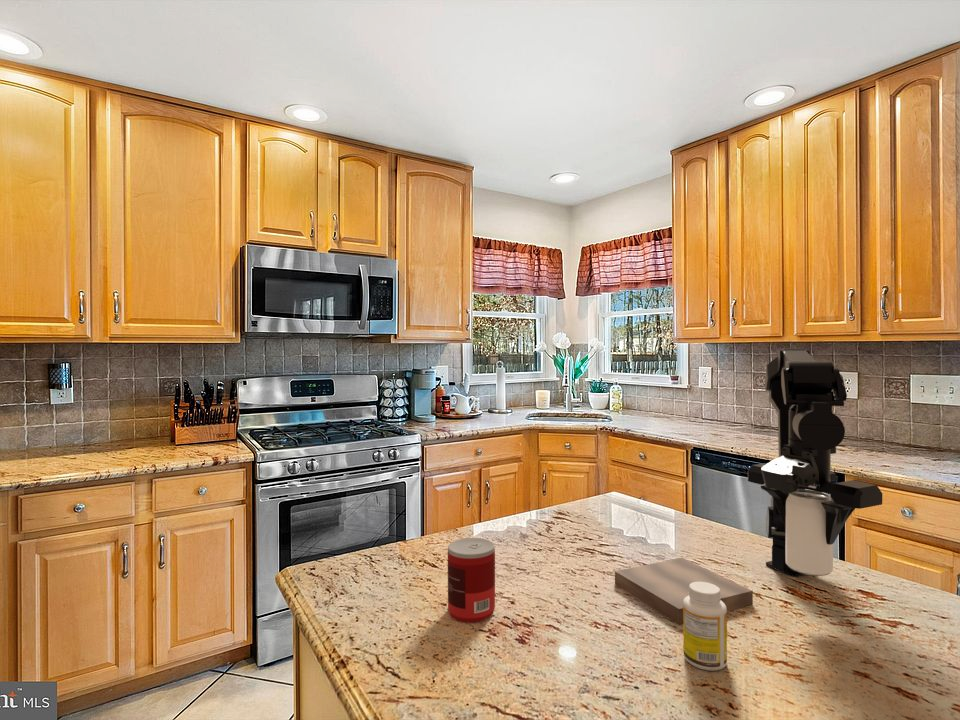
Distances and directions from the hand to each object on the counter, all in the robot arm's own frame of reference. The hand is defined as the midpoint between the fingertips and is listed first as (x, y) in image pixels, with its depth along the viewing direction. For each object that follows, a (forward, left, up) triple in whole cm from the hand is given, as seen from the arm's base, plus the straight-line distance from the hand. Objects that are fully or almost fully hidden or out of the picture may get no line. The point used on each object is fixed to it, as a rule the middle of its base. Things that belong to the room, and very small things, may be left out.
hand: (809, 537), depth 86 cm
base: (+13, -14, -13) cm, 23 cm away
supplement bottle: (+25, +3, -13) cm, 28 cm away
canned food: (+49, -23, -13) cm, 56 cm away
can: (0, 0, -5) cm, 5 cm away
